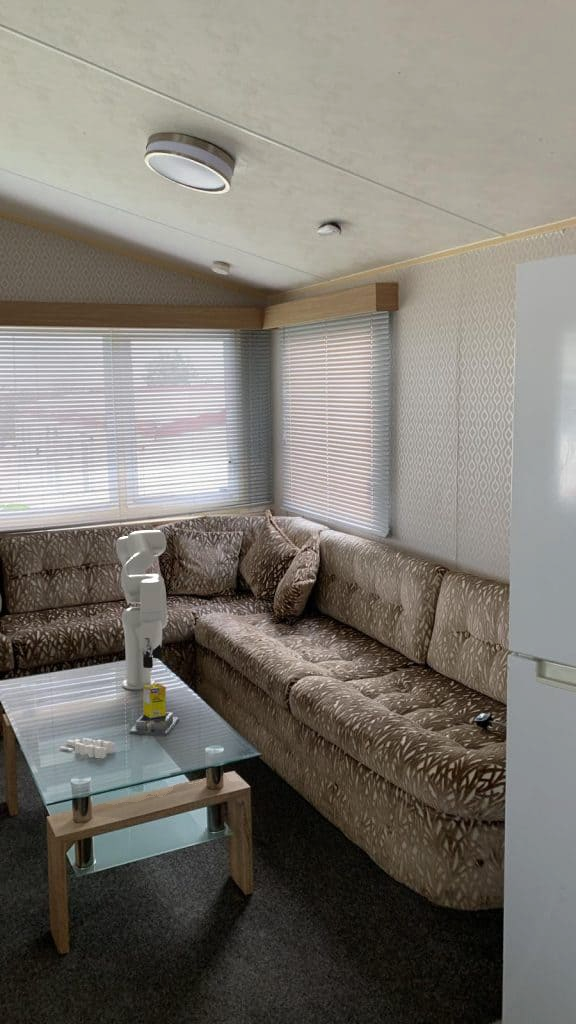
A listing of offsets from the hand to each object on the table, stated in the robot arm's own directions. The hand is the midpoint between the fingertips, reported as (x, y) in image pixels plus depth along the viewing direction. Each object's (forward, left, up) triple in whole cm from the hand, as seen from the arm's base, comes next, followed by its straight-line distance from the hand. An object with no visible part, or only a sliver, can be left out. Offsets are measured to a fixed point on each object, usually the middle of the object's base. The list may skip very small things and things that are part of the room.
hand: (152, 662), depth 294 cm
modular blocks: (+24, -15, -23) cm, 37 cm away
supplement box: (+1, +1, -19) cm, 19 cm away
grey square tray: (+1, +1, -23) cm, 23 cm away
